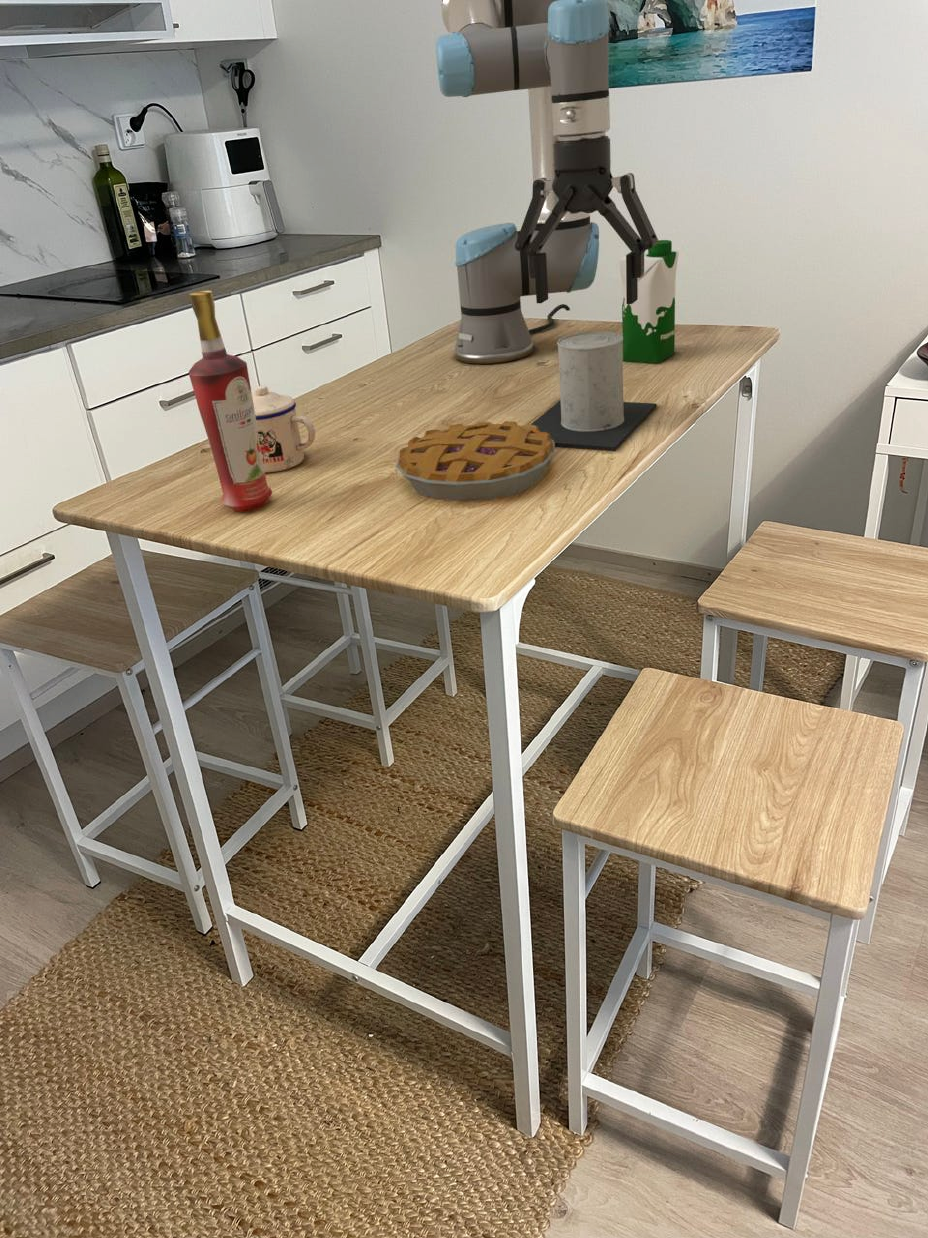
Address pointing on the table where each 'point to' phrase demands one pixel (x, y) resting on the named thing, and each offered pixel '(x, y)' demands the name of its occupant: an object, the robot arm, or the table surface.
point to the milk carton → (651, 307)
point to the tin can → (591, 381)
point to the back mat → (598, 439)
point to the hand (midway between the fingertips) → (586, 301)
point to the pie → (476, 460)
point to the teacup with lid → (279, 430)
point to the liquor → (227, 413)
